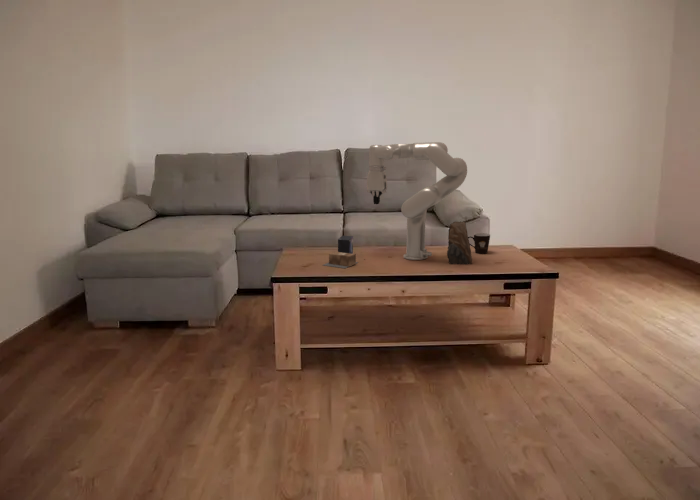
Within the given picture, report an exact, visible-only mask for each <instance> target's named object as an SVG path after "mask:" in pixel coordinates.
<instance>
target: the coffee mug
mask: <svg viewBox="0 0 700 500" xmlns="http://www.w3.org/2000/svg"><path fill="white" fill-rule="evenodd" d="M470 238H471V239H472V240H473V242H474V245H472V243H470V247H473V248H474V252H475V254H477V255H486V254H488V250H489V245H490V238H491V234H490V233H487V232H486V233H484V232H478V233H477V232H475V233H473V236H468V239H470Z"/></svg>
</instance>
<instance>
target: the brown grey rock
mask: <svg viewBox="0 0 700 500" xmlns="http://www.w3.org/2000/svg"><path fill="white" fill-rule="evenodd" d="M468 235H469V233H468V229H467V225H466V222H465V221H453V222H452V223H450V226H449V229H448V239H447V240H448V242H447V243H448V246H447V251H446V256H447V260H448V261H447V262H448V264H449V265H473V258H472V257H473V256H472V249H471V245H470V244H471V243H470V241H469V239H470V238H468V237H469V236H468Z"/></svg>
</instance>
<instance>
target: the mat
mask: <svg viewBox="0 0 700 500" xmlns="http://www.w3.org/2000/svg"><path fill="white" fill-rule="evenodd" d="M357 264H359V262H358V261H356V264H354V265H357ZM354 265H353V266H354ZM322 266H323V267H331V268H338V269H347V268H350V267H349V266H342V265H335V264H329V262H326V263H323V264H322Z"/></svg>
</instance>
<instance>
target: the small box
mask: <svg viewBox="0 0 700 500" xmlns="http://www.w3.org/2000/svg"><path fill="white" fill-rule="evenodd" d="M337 252H342V253H350V254H354V236H352V235H341V236H339V237H338V238H337Z"/></svg>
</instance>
